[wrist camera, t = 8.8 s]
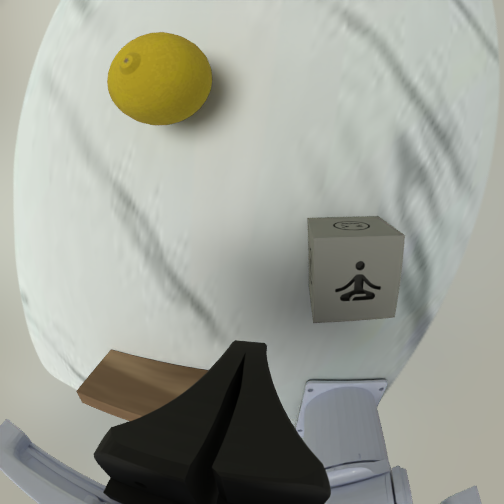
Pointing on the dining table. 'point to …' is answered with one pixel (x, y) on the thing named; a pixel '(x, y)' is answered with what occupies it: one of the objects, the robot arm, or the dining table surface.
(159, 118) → the lemon
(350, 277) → the dice cube
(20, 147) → the dining table surface
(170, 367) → the brown wooden block
